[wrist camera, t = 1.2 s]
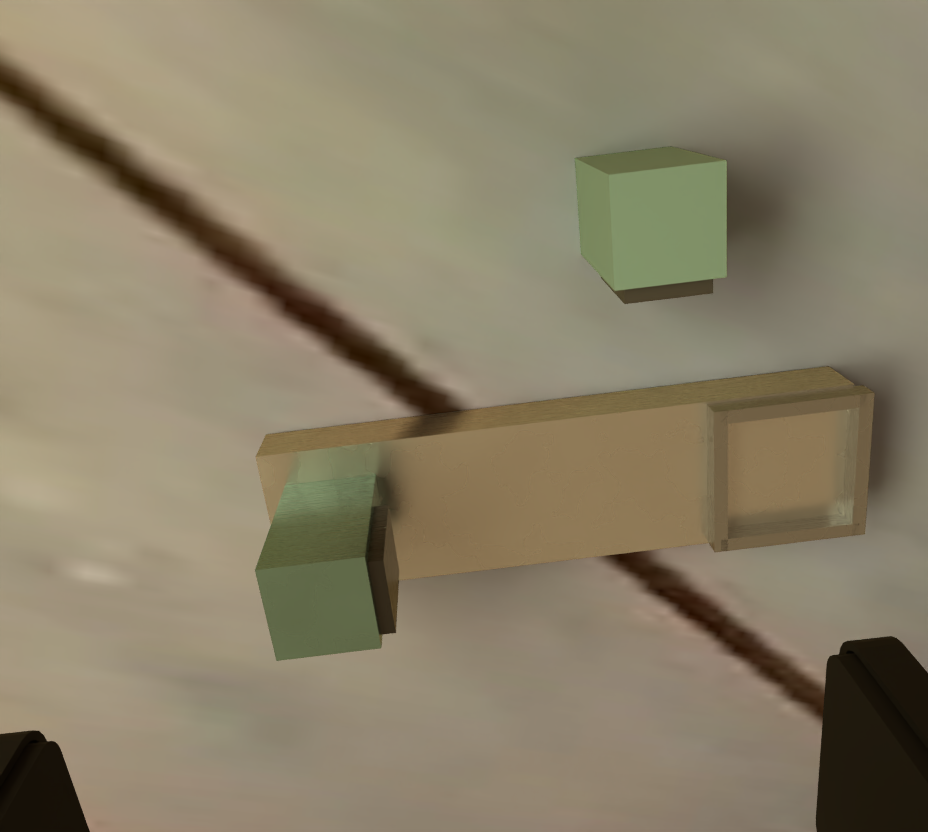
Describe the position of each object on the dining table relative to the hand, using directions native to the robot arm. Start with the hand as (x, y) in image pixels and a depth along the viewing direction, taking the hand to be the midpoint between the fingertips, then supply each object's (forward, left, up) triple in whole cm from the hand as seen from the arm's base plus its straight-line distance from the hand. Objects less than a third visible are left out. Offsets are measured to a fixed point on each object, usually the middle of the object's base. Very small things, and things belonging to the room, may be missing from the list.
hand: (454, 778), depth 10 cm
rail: (+10, +4, -28) cm, 30 cm away
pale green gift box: (-2, +8, -28) cm, 30 cm away
